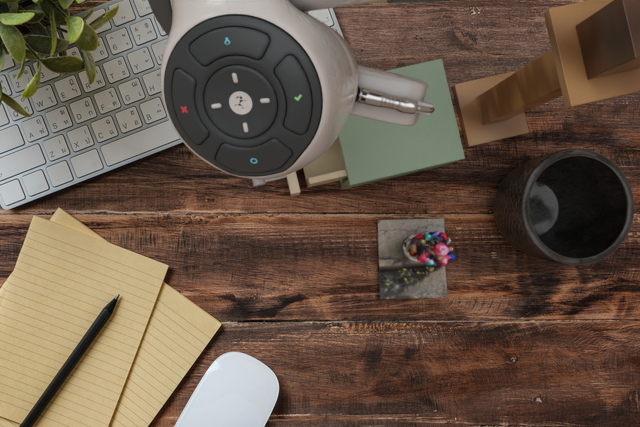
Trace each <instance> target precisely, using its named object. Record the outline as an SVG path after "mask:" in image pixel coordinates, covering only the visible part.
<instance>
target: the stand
mask: <svg viewBox="0 0 640 427" xmlns="http://www.w3.org/2000/svg"><path fill="white" fill-rule="evenodd" d="M612 1H613V0H582V1H578V2H574V3H569V4H565V5H560V6H554V7H551V8H548V9H547V10H545V12H544V11H543V12H544V13H543V18H544V22H545V27H546V30H547V36H548V39H549V44H550V48H551V49H550V50H548V51H547V52H545V53H544V54H543V53H542V55H540V56H539V57H537V58H535V59H534V60H532V61H531V62H529V63H528V64H526V65H525V66H523V67H521V68H520V69H519V70H517V71H515V70H513V71H508V72H504V73H499V74H495V75H490V76H486V77H481V78H477V79H472V80H468V81H463V82H459V83H454V84H453V85H452V86H451V89H452V93H453V97H454V101H455V102H454V103H455V106H456V111H457V115H458V118H459V124H460V128H461V132H462V137H463V141H464V145H465V148H471V147H476V146H480V145H484V144H488V143H494V142H498V141H501V140H502V141H503V140H505V139H510V138H515V137H519V136H523V135H527V134H529V133H530V130H529V125H528V120H527V117H526V112H528V111H530V110H533V109H535V108H537V107H539V106H542V105H544V104H546V103H549V102H551V101H553V100H555V99H557V98H560V97H562V99H563V104H564V109H566V110H567V109H571V108H577V107H581V106H585V105H589V104H593V103H597V102H603V101H606V100H611V99H615V98H619V97H624V96H628V95H633V94H638V93H640V68H638V69H634V70H629V71H625V72H620V73H616V74H612V75H607V76H603V77H598V78H594V79H590V80H588V78H587V74H586V69H585V65H584V61H583V56H582V52H581V48H580V43H579V39H578V35H577V30H576V25H577V24H579V23H580V22H582V21H583V20H585V19H586V18H588V17H589V16H591V15H592V14H594V13H595V12H597V11H598V10H600V9H601V8H603V7H604V6H606V5H607V4H609V3H610V2H612Z"/></svg>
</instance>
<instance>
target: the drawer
mask: <svg viewBox="0 0 640 427" xmlns="http://www.w3.org/2000/svg"><path fill="white" fill-rule="evenodd" d="M302 170H303V174H304V179H305V183H306V188H308V189H309V188H312V187H316V186H322V185H326V184H331V183H334V182H338V181H339V182H340V180H343V179H347V178H348V177H347V173H346V168H345V164H344V160H343V156H342V151H341V147H340V143H339V139H338V137H337V139H336V140H335V141H334V143H333V144H332V145H331V146H330V148H329V149H328V150H327V151H326V152H325V153H324V154H323V155H321V156H320V157H319V158H318V159H316V160H315V161H314V162H312V163H310V164H309V165H307V166H305V167H303V168H302ZM282 179H286V181H287V187H288V190H289V195H290V198H292V197H296V196H300V194H301V187H300V183H299V179H298V175H297V171H295V172H293V173H291V174H288V175H285V176H282V177H278V178H272V179H259V180H258V179H251V181H252V182H251V183H252V186H253V187H261V186H264V185H267V184H266V183H270V182H274V181H277V180H282Z"/></svg>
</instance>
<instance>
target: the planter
mask: <svg viewBox="0 0 640 427" xmlns="http://www.w3.org/2000/svg"><path fill="white" fill-rule="evenodd" d="M492 213H493V219H494V224H495V226H496V228H497V230H498V231H499V233H500V235H501V236H502V237H503V238H504V240H505V241H506V242H507V243H508V244H509V245H511V246H512V247H513V248H515V249H516V250H518V251H519V252H521V253H524V254H525V255H528V256H530V257H533V258H536V259H540V260H544V261H547V262H551V263H555V264H559V265H563V266H571V267H572V266H573V267H581V266H589V265H592V264H597V263H599V262H602V261H604V260H605V259H607V258H609V257H610V256H612V255H613V254H614V253H616V251H617V250H618V249H619V248H620V247H621V246H622V245H623V243H624V242H625V240H626V239H627V237H628V236H629V234H630V232H631V228H632V226H633V222H634V217H635V197H634V193H633V189H632V186H631V184H630V182H629V179H628V177H627V176H626V174H625V173H624V171H623V169H621V168H620V166H618V164H616V163H615V162H614V161H613V160H612V159H610V158H609V157H607V156H605V155H604V154H602V153H600V152H597V151H595V150H591V149H586V148H568V149H567V148H565V149H562V150H557V151H554V152H551V153H548V154H545V155H542V156H539V157H536V158H533V159H531V160H527V162H523V163H522V164H521V165H519V166H517V167H515V168H514V169H512V170H511V171H510V172H509V173H508V174H507V175H506V176H505V177H504V178H503V180H502V181H501V182H500V184H499V185H498V187H497V188H496V191H495V193H494V198H493V202H492Z"/></svg>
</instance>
